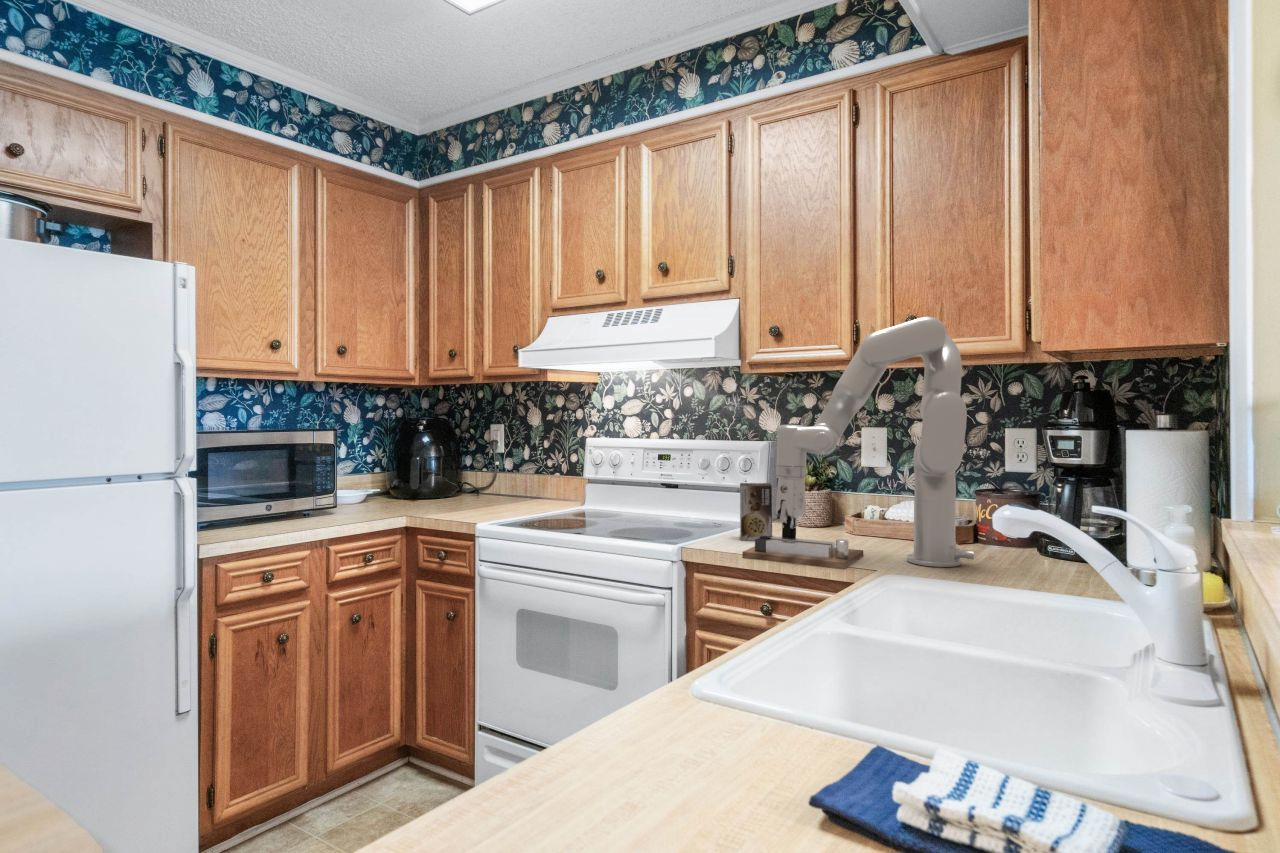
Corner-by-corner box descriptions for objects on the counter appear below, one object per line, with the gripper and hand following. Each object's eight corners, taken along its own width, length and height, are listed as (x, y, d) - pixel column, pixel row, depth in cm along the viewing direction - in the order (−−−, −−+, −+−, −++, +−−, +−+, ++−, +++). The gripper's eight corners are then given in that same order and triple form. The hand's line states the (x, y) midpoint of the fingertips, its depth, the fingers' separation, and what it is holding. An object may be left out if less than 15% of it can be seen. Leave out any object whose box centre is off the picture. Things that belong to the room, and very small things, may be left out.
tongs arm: (834, 554, 186) (835, 542, 186) (832, 555, 184) (832, 543, 184) (762, 546, 195) (762, 535, 195) (759, 548, 193) (759, 536, 193)
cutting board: (863, 556, 193) (863, 550, 192) (844, 569, 177) (844, 562, 177) (767, 546, 206) (767, 540, 206) (742, 557, 190) (742, 551, 190)
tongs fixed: (849, 557, 183) (849, 539, 183) (845, 561, 179) (845, 542, 179) (760, 548, 194) (761, 531, 194) (754, 551, 191) (754, 534, 191)
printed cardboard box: (770, 537, 220) (771, 482, 219) (772, 541, 213) (772, 485, 213) (739, 536, 221) (739, 482, 220) (740, 540, 214) (740, 484, 214)
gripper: (795, 475, 185) (792, 549, 185) (814, 471, 197) (812, 540, 198) (766, 473, 189) (764, 545, 189) (787, 469, 201) (785, 537, 202)
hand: (788, 542), depth 194 cm, fingers closed
